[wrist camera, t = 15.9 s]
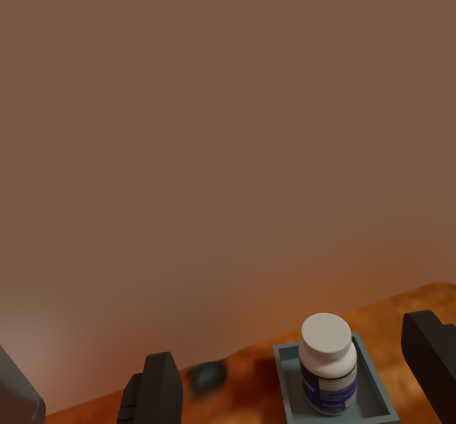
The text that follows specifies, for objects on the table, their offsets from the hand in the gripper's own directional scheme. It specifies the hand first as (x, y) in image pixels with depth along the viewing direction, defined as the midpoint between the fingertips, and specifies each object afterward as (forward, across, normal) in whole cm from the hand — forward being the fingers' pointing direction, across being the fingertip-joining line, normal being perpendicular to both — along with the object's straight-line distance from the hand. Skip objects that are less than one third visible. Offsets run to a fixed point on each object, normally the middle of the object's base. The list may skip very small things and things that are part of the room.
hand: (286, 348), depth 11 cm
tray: (+15, -5, +28) cm, 32 cm away
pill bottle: (+14, -5, +28) cm, 32 cm away
